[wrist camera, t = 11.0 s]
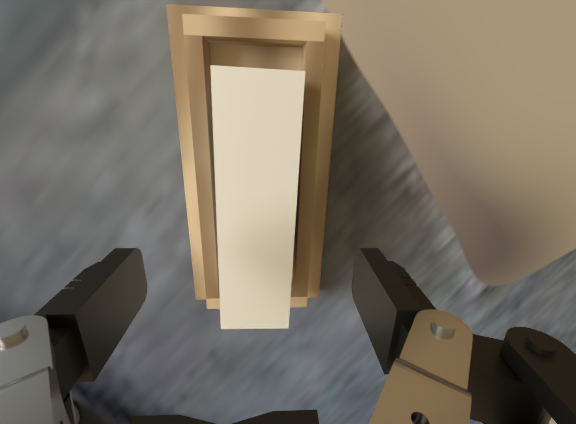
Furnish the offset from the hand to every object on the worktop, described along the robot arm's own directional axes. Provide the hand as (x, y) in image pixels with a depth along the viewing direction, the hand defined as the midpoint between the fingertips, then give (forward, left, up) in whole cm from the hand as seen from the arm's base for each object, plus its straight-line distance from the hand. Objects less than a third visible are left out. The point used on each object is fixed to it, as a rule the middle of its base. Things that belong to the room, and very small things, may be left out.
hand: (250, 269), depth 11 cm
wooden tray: (0, 0, -14) cm, 14 cm away
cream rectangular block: (0, 0, -12) cm, 12 cm away
